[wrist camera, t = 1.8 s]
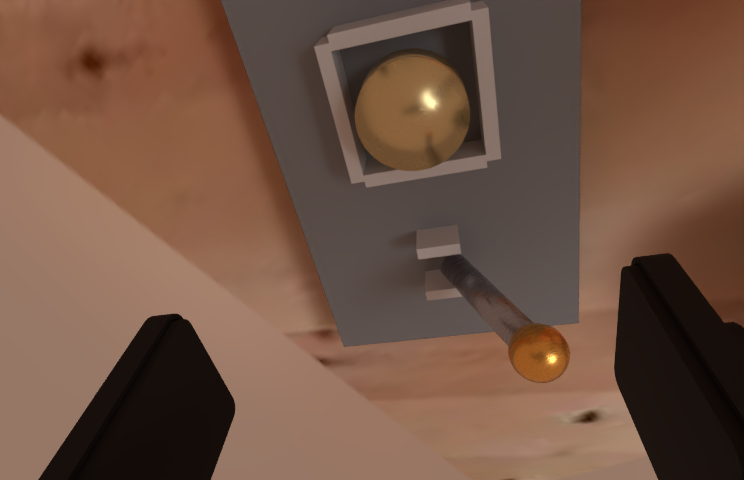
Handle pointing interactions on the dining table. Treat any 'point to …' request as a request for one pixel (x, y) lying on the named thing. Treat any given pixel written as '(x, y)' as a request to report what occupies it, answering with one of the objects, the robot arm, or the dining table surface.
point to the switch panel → (434, 185)
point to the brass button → (412, 110)
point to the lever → (510, 323)
